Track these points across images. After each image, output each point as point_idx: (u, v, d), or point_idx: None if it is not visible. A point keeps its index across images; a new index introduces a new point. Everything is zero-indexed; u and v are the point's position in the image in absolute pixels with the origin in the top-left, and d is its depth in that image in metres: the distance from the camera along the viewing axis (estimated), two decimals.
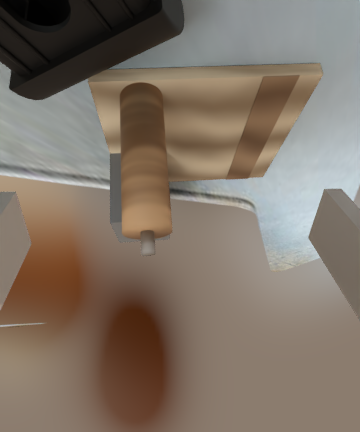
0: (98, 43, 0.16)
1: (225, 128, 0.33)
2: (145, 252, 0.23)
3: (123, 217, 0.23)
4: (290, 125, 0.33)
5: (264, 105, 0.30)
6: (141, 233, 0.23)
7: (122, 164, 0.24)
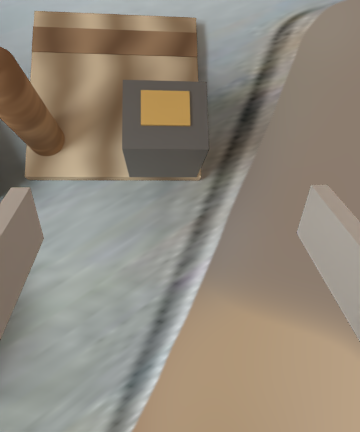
0: None
1: (96, 70, 0.35)
2: None
3: None
4: (96, 15, 0.37)
5: (65, 43, 0.36)
6: None
7: (9, 125, 0.27)
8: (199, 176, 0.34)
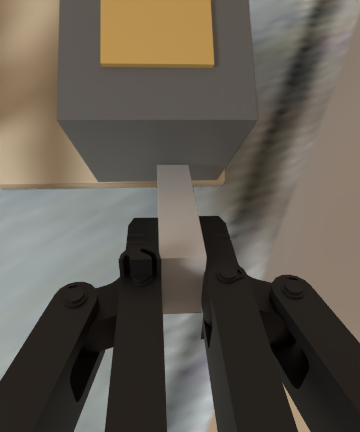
0: None
1: None
2: None
3: None
4: None
5: None
6: None
7: None
8: (222, 179, 0.20)
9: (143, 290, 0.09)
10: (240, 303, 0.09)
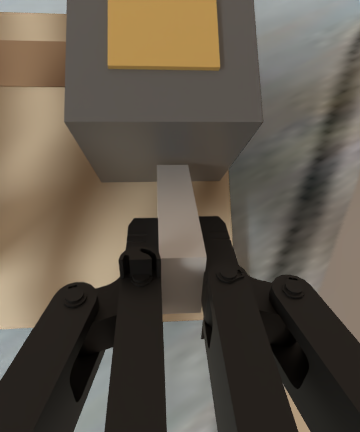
0: None
1: (40, 117, 0.19)
2: None
3: None
4: (43, 17, 0.20)
5: None
6: None
7: None
8: None
9: (143, 290, 0.09)
10: (240, 303, 0.09)
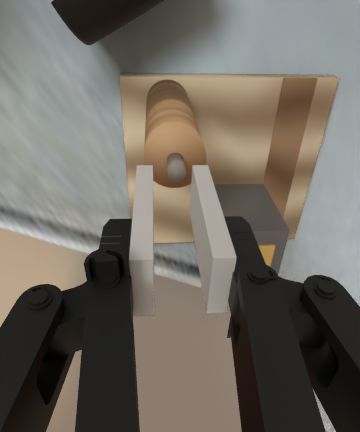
0: None
1: (249, 151, 0.32)
2: (174, 167, 0.17)
3: (147, 140, 0.19)
4: (316, 150, 0.32)
5: (287, 118, 0.30)
6: (168, 157, 0.18)
7: (147, 117, 0.22)
8: None
9: (111, 292, 0.09)
10: (271, 304, 0.09)
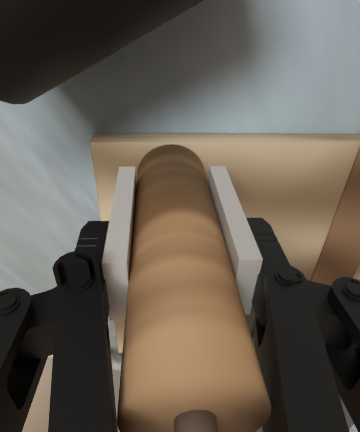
0: None
1: (295, 243, 0.21)
2: None
3: (126, 365, 0.08)
4: None
5: (358, 199, 0.19)
6: (178, 422, 0.07)
7: (134, 249, 0.11)
8: (119, 351, 0.26)
9: (82, 296, 0.09)
10: (297, 306, 0.09)
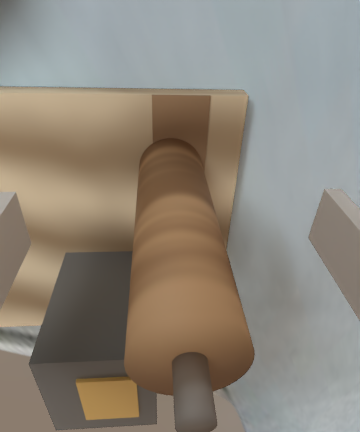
0: None
1: (122, 207, 0.20)
2: (191, 419, 0.07)
3: (132, 317, 0.09)
4: (228, 205, 0.21)
5: None
6: (175, 362, 0.09)
7: (137, 227, 0.13)
8: None
9: None
10: None
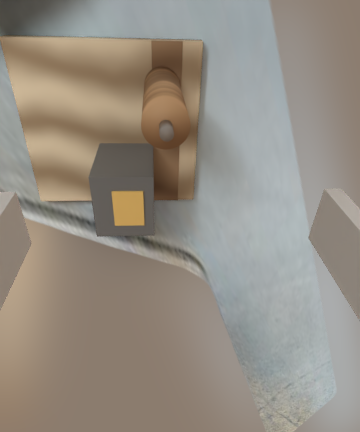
0: None
1: (134, 111, 0.35)
2: (164, 129, 0.22)
3: (143, 110, 0.24)
4: (196, 112, 0.35)
5: None
6: (160, 123, 0.23)
7: (144, 95, 0.27)
8: (41, 199, 0.40)
9: None
10: None
